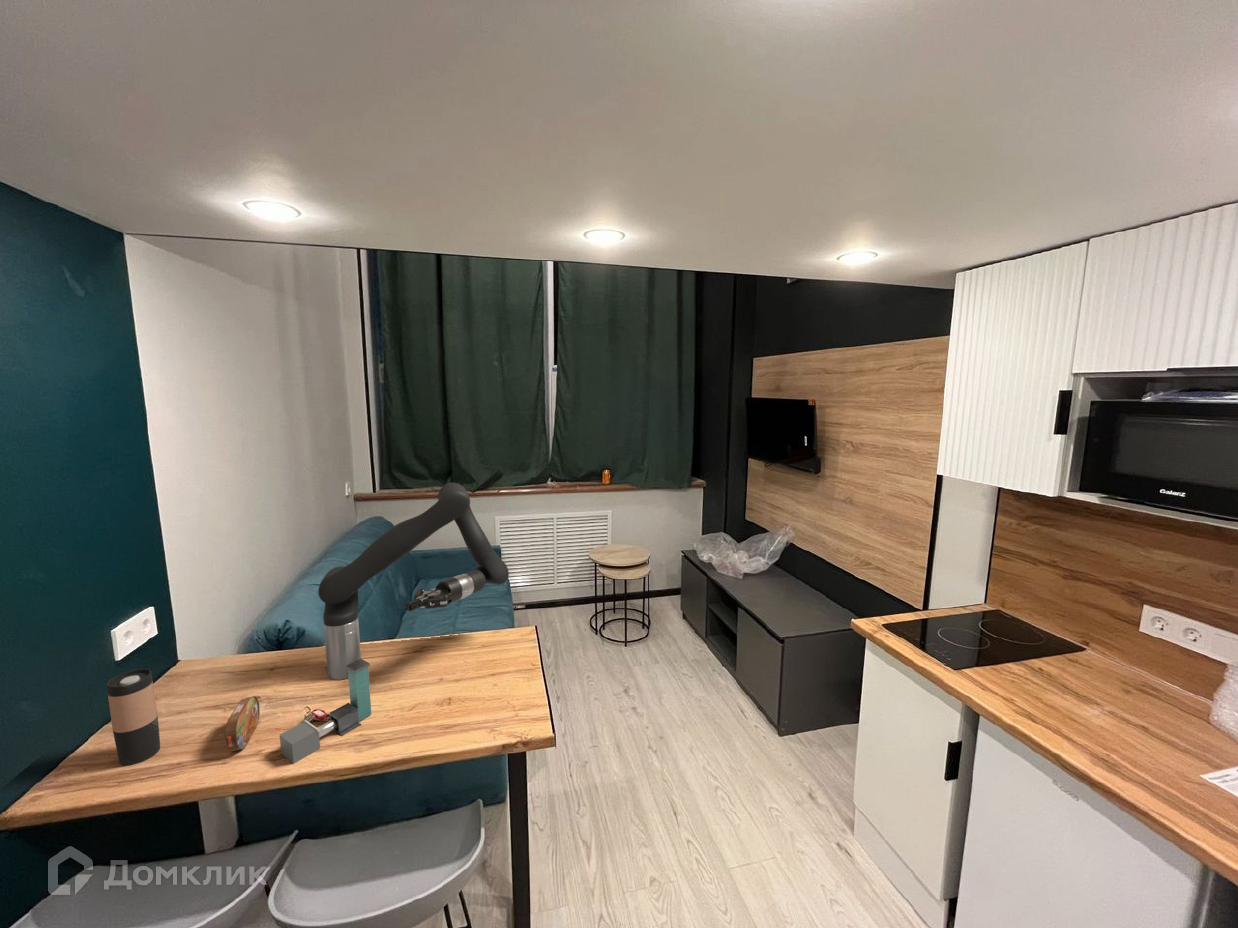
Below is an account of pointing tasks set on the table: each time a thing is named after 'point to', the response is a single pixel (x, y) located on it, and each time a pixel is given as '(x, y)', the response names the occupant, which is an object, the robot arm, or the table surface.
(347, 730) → the sleeve
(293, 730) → the socket
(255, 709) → the tin
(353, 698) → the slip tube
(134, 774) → the table surface
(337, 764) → the table surface
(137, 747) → the travel mug
